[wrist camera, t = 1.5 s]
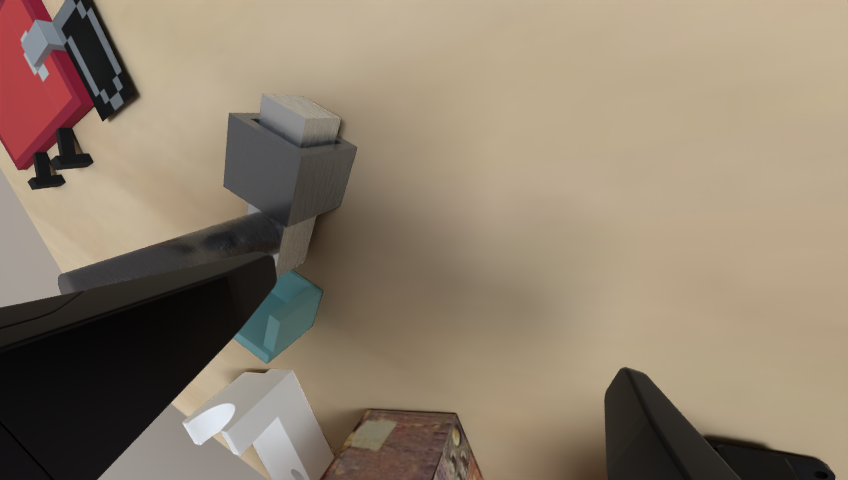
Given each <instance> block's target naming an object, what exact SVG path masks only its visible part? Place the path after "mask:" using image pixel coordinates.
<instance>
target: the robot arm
mask: <svg viewBox="0 0 848 480" xmlns="http://www.w3.org/2000/svg"><path fill="white" fill-rule="evenodd" d="M276 283H277V274H276V266H275V260H274V257H273V256H272V255H270V254H267V253H264V252H253V253H248V254H244V255H239V256H235V257H230V258H226V259H221V260H217V261H212V262H208V263H203V264H199V265H194V266H190V267H185V268H181V269H176V270H172V271H167V272H163V273H158V274H154V275H149V276H145V277H140V278H136V279H131V280H127V281H122V282H118V283H113V284H109V285H104V286H100V287H95V288H91V289H87V290H86V291H84V290H82V291H77V292H73V293H68V294H64V295H59V296H54V297H50V298H45V299H40V300H35V301H31V302H26V303H22V304H16V305H11V306H6V307H1V308H0V480H97V479H98V478H99V477H100V476H101V475H102V474H103V473H104V472H105V471H106V470H107V469H108V468H109V467H110V466H111V465H112V464H113V463H114V462H115V460H117V459H118V457H119V456H120V455H121V454H122V453H123V452H124V451H125V450H126V449H127V448H128V447H129V446H130V445H131V444H132V443H133V442H134V440H136V439H137V438H138V437H139V436H140V435H141V433H142V432H143V431H144V430H145V429H146V428H147V427H148V426H149V425H150V424H151V423H152V422H153V421H154V420H155V419H156V418H157V417H158V416H159V415H160V414H161V413H162V412H163V410H164V409H165V408H166V407H167V406H168V405H169V404H170V403H171V402H172V401H173V400H174V399H175V398H176V397H177V396H178V395H179V394H180V393H181V392H182V391H183V390H184V389H185V388H186V386H187V385H188V384H189V383H190V382H191V381H192V380H193V379H194V378H195V377H196V376H197V375H198V374H199V373H200V372H201V371H202V370H203V369H204V368H205V367H206V366H207V365H208V364H209V362H210V361H211V360H212V359H213V358H214V357H215V356H216V355H217V354H218V353H219V352H220V351H221V350H222V349H223V348H224V347H225V346H226V345H227V344H228V343H229V342H230V341H231V340H232V338H233V337H234V336H235V335H236V334H237V333H238V332H239V331H240V330H241V328H242V327H243V326H244V325H245V324H246V322H247V321H248V320H249V319H250V317H251V316H252V315H253V314H254V312H255V311H256V310H257V309H258V307H259V306H260V305H261V304H262V302H263V301H264V300H265V299H266V297H267V296H268V295H269V294H270V292H271V291H272V290H273V289H274V287H275V285H276ZM604 403H605V437H606V466H607V478H608V480H835V474H834V473H833V472H832V470H831V469H830V468H829V466H828V465H827V464H825V463H824V462H821V461H818V460H813V459H807V458H802V457H796V456H791V455H785V454H780V453H775V452H769V451H764V450H758V449H753V448H747V447H742V446H736V445H731V444H725V443H720V442H714V441H709V440H705V439H704V438H703V437H702V436H701V435H700V434H699V432H698V431H697V430H696V429H695V428H694V427H693V426H692V425H691V424H690V422H689V421H688V420H687V419H686V418H685V417H684V416H683V415H682V414H681V412H680V411H679V410H678V409H677V408H676V407H675V406H674V405H673V404H672V403H671V401H670V400H669V399H668V398H667V397H666V396H665V395H664V394H663V393H662V391H661V390H660V389H659V388H658V387H657V386H656V385H655V384H654V383H653V381H652V380H651V379H650V378H649V377H648V376H647V375H646V374H644V373H643V372H640V371H637V370H634V369H630V368H627V367H623V368H621V369H620V370H619V371H618V373H617V375H616V376H615V378H614V379H613V381H612V382H611V384H610V385H609V387H608V389H607V390H606V393H605V399H604Z"/></svg>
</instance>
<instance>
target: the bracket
mask: <svg viewBox="0 0 848 480" xmlns="http://www.w3.org/2000/svg"><path fill="white" fill-rule="evenodd" d="M182 423H183V425H184V427H185V428H186V430H187V431H188V433H189V435H190V437H191V438H192V440H193V441H194V443H195V444H198V445H202V444H203V443H204V442H205V441H206V440H207V439H209V438H210V437H212V436H213V435H215V434H216V433H218V432H220V431H221V433H222V435H223V437H224V438H225V440H226V442H227V444H228V445H229V447H230V449H231V450H232V452H233V454H235V455H239V456H241V455H242V454H243V453H244V452H245V451H246V449H247V448H248V447H249V446H250V445H251V444H253V446H254V448H255V450H256V451H257V453H258V455H259V457H260V459H261V460H262V462H263V464H264V466H265V468H266V469H267V471H268V473H269V475H270V477H271V479H272V480H319V479H320V478H321V477H322V475H323V474H324V472H325V471H326V469H327V468H328V466H329V465H330V463H331V462H332V460H333V459H334V456H333V454H332V452H331V450H330V447H329V445H328V443H327V441H326V439H325V437H324V435H323V433H322V431H321V428H320V426H319V424H318V422H317V420H316V418H315V416H314V414H313V412H312V409H311V407H310V405H309V403H308V401H307V399H306V397H305V395H304V393H303V390H302V388H301V386H300V384H299V382H298V380H297V378H296V376H295V374H294V371H293V370H283V369H269V370H268V371H267V372H266V373H251V372H244V373H243V374H241V375H240V376H239V377H238V378H237V379H235V380H234V381H233V382H232V383H230V384H229V385H228V386H227V387H225V388H224V389H223V390H222V391H220V392H219V393H218V394H217V395H215V396H214V397H213V398H212V399H210V400H209V401H208V402H207V403H205V404H204V405H203V406H202V407H200V408H199V409H198V410H197V411H196V412H194V413H193V414H192V415H191V416H189V417H188V418H187V419H186V420H184V421H183V422H182Z"/></svg>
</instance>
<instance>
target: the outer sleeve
mask: <svg viewBox="0 0 848 480" xmlns="http://www.w3.org/2000/svg"><path fill="white" fill-rule="evenodd" d="M259 115H260V113H229V120H228V133H227V147H226V160H225V173H224V187H225V188H227V189H228V190H230V191H231V192H233V193H234V194H236V195H237V196H239V197H240V198H242V199H243V200H245V201H247V202H248V203H250V204H251V205H253V206H254V207H256V208H257V209H259V210H260V211H262V212H263V213H265V214H266V215H268V216H269V217H271V218H272V219H274V220H275V221H277V222H278V223H280V224H282V225H283V226H285V227H286V228H288V227H290V226H293V225H295V224H298V223H300V222H303V221H305V220H307V219H310V218H312V217H315V216H317V215H320V214H322V213H325V212H327V211H330V210H332V209H334V208H337V207H339V206H340V205H341V201H342V198H343V194H344V191H345V188H346V184H347V181H348V177H349V174H350V171H351V167H352V164H353V160H354V157H355V154H356V150H357V147H356V146H354V145H352V144H350V143H349V142H347V141H345V140H343V139H342V138H340V137H338V136H336V140H335V144H333V145H325V146H318V147H310V148H302V149H300V148H299V147H297V146H295V145H294V144H292V143H290V142H288V141H287V140H285V139H283V138H282V137H280V136H278V135H277V134H275V133H273V132H272V131H270V130H268V129H267V128H265V127H263V126H262V125H260V124H258V123H259Z"/></svg>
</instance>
